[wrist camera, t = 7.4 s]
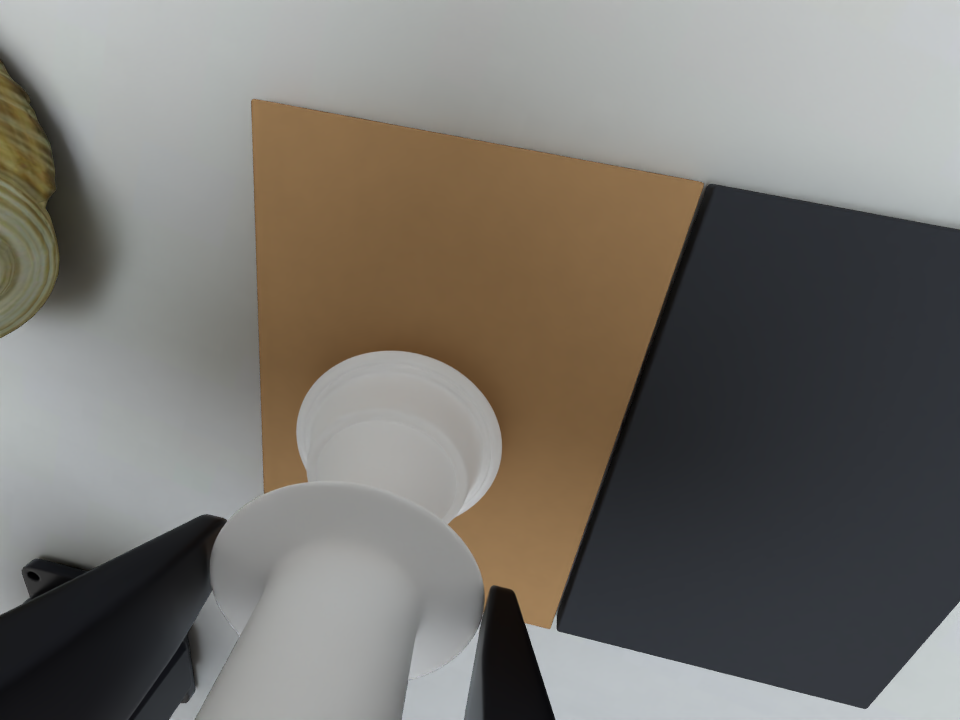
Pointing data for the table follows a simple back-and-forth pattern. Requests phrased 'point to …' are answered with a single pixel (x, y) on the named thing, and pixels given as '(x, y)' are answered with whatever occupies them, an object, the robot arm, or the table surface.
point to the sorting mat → (643, 387)
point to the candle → (358, 547)
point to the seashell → (24, 209)
